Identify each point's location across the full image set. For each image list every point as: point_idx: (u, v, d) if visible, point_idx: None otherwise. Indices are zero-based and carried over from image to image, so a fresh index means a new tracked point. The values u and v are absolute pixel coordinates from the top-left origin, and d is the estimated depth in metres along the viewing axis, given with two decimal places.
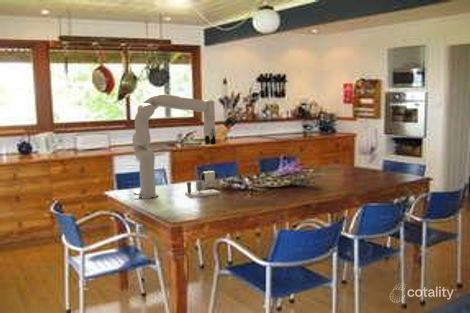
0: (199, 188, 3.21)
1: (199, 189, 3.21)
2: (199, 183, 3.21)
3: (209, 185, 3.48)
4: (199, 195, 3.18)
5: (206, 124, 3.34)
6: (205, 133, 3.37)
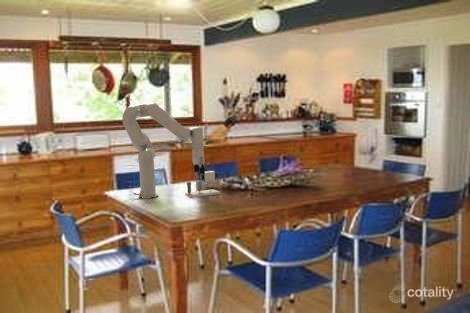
0: (199, 188, 3.21)
1: (199, 189, 3.21)
2: (199, 183, 3.21)
3: (209, 185, 3.48)
4: (199, 195, 3.18)
5: (194, 152, 3.18)
6: (194, 162, 3.20)
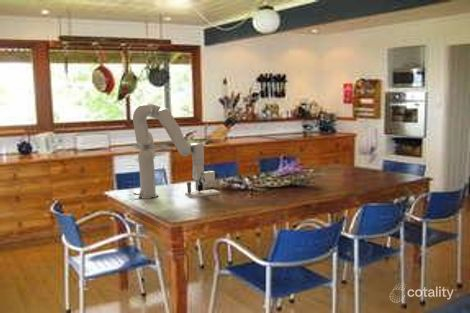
0: None
1: None
2: None
3: (209, 185, 3.48)
4: (199, 195, 3.18)
5: (195, 168, 3.19)
6: (194, 177, 3.22)
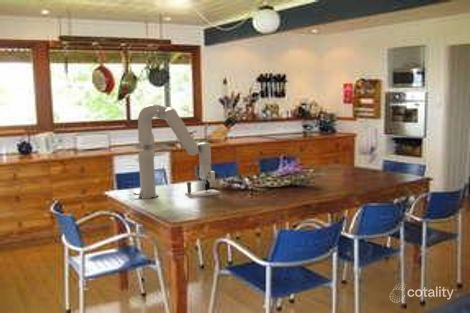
0: None
1: None
2: None
3: None
4: (199, 195, 3.18)
5: (202, 167, 3.21)
6: (201, 176, 3.24)
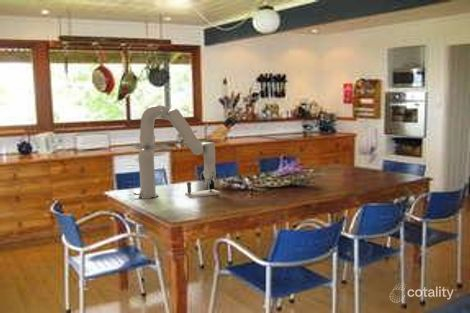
0: None
1: None
2: None
3: None
4: (199, 195, 3.18)
5: (206, 167, 3.22)
6: (205, 176, 3.25)
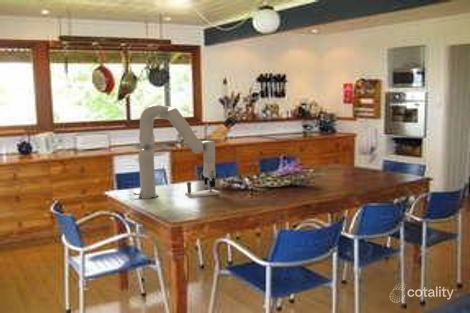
0: (210, 187, 3.25)
1: (210, 188, 3.25)
2: None
3: None
4: (199, 195, 3.18)
5: (206, 166, 3.22)
6: (205, 175, 3.25)
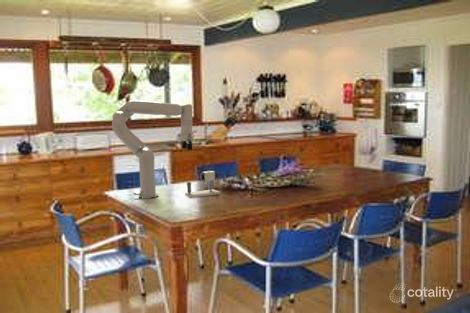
0: (210, 187, 3.25)
1: (210, 188, 3.25)
2: (210, 182, 3.24)
3: None
4: (199, 195, 3.18)
5: (183, 129, 3.23)
6: (182, 138, 3.25)
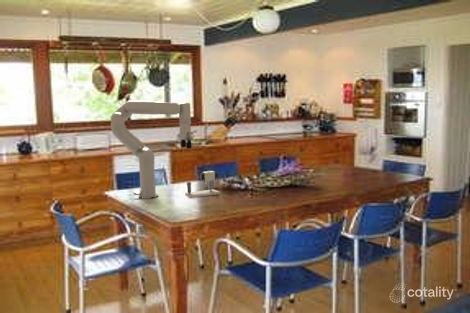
0: (210, 187, 3.25)
1: (210, 188, 3.25)
2: (210, 182, 3.24)
3: None
4: (199, 195, 3.18)
5: (182, 127, 3.23)
6: (181, 137, 3.25)
